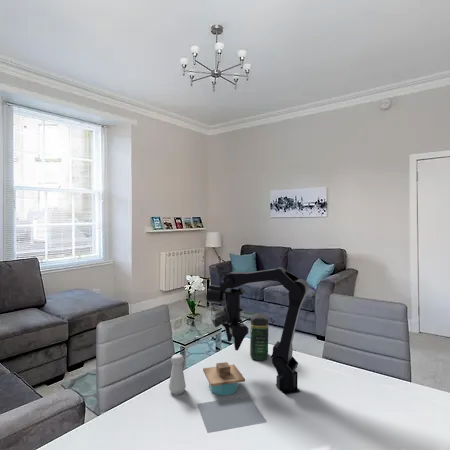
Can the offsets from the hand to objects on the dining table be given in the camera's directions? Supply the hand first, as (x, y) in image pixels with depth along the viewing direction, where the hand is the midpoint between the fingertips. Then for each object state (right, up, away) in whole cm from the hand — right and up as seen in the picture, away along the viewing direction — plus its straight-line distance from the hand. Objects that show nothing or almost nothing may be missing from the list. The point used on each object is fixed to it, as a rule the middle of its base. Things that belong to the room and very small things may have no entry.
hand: (232, 345), depth 125 cm
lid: (-4, -7, -9) cm, 12 cm away
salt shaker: (-19, -12, -12) cm, 26 cm away
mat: (-1, -12, -24) cm, 27 cm away
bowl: (-4, -12, -9) cm, 16 cm away
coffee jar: (+12, -12, +19) cm, 26 cm away
